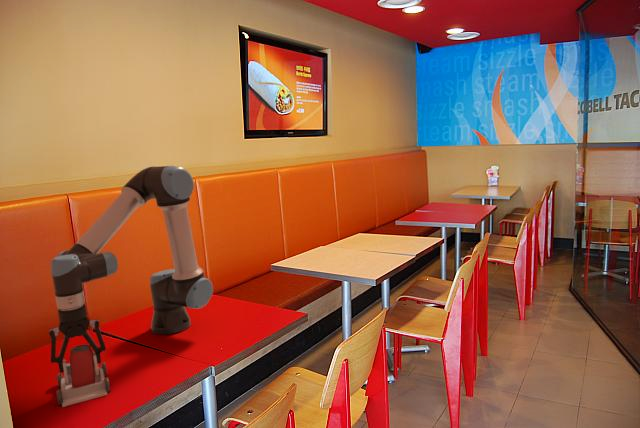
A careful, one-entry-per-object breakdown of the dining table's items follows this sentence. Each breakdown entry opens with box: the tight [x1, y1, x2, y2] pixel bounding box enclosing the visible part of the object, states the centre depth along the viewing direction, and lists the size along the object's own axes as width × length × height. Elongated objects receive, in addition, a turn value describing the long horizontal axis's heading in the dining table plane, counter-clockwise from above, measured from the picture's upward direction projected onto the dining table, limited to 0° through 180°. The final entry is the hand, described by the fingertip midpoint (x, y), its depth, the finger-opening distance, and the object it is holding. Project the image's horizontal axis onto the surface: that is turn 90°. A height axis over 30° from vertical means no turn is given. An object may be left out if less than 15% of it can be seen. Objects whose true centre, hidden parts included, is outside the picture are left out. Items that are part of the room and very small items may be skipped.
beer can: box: [68, 344, 95, 389], centre depth 152 cm, size 7×7×12 cm
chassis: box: [56, 356, 111, 408], centre depth 152 cm, size 17×14×6 cm
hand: (82, 377), depth 152 cm, fingers open, 8 cm apart
